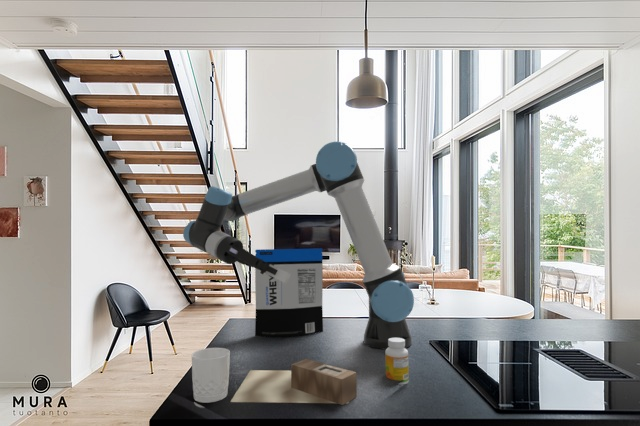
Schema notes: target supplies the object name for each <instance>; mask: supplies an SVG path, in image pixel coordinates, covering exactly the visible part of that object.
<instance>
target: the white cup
mask: <svg viewBox="0 0 640 426" xmlns="http://www.w3.org/2000/svg"><path fill="white" fill-rule="evenodd" d="M230 363H231V351H230V349H228V348H225V347H206V348H202V349H199V350H196V351H194V352H192V354H191V378H192V391H193V399H194V402H193V404H194V405H195V406H196V407H197V408H200V409H206V407H205V406H203V405H201V404H198V403H207V404H208V403H215V402H218V401H221V400H224V399H225V398H226V397H227V396H228V392H229V390H228V389H229V380H230V366H231V365H230ZM195 401H196V402H195ZM197 402H198V403H197Z"/></svg>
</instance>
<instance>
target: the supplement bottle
mask: <svg viewBox="0 0 640 426" xmlns="http://www.w3.org/2000/svg"><path fill="white" fill-rule="evenodd" d="M388 346H389V347H388V348H387V349H385V350H384V351H385V352H384V353H385V354H384V355H385V377H386V378H388V379H389V380H391V381H400V382H399V383H397V384H396V386H403V385H407V384H408V383H409V382H410V377H409V376H410V373H409V371H410V370H409V369H410V368H409V367H410V366H409V351H408V348H404V347H405V340H404V339H402V338H389V339H388Z"/></svg>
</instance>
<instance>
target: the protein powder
mask: <svg viewBox="0 0 640 426" xmlns="http://www.w3.org/2000/svg"><path fill="white" fill-rule="evenodd" d="M254 252H255V255H254V256H256V257H257V258H259V259H262V260H263V261H264V262H267V263H268V264H269V265H270V264H271V263H273V264H275V265H274V266H275V267H277V268H279V269H281V270H284V271H286V272H288V273H290V274H291V276H290V278H289V280H288V281H287V283H284V282H282V281H280V280H278V279H276V278H274V277H272V276H270V275H268V274H266V273H264V274H261V273H260V272H261V271H260V270H258V269H256V268H255V269H254V271H255V272H254V273H255V274H254V275H255V277H254V279H255V281H254V282H255V283H254V285H255V287H254V288H255V292H254V293H255V320H254V321H255V324H254V325H255V328H254V329H255V331H254V336H255V337H262V338H276V339H277V338H278V339H279V338H281V339H284V338H297V337H298V338H300V337H305V336H311V335H316V334H318V332H319V333H323V332H324V320H323V319H324V316H323V288H324V287H323V281H324V280H323V278H324V277H323V276H324V275H323V273H324V272H323V248H283V249H282V248H277V249H275V248H271V249H255V250H254ZM315 333H316V334H315Z"/></svg>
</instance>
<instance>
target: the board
mask: <svg viewBox="0 0 640 426" xmlns="http://www.w3.org/2000/svg"><path fill="white" fill-rule="evenodd" d="M230 403H269V404H270V403H277V404H278V403H280V404H282V403H284V404H287V403H289V404H291V403H293V404H336V403H335V402H332V401H329V400H326V399H323V398H320V397H317V396H314V395H311V394H308V393H305V392H303V391H300V390H297V389H294V388H291V370H282V369H281V370H276V369H275V370H272V369H271V370H265V369H264V370H261V369H260V370H257V369H254V370H253V369H250V370H249V371H248V373H247V375H246V376H245V378H244V380H243V381H242V382H241V384H240V386H239V388H238V389H237V390H236V392H235V394H234V395H233V397H232V398H231V400H230ZM346 404H350V401H349V402H347V403H346Z"/></svg>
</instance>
